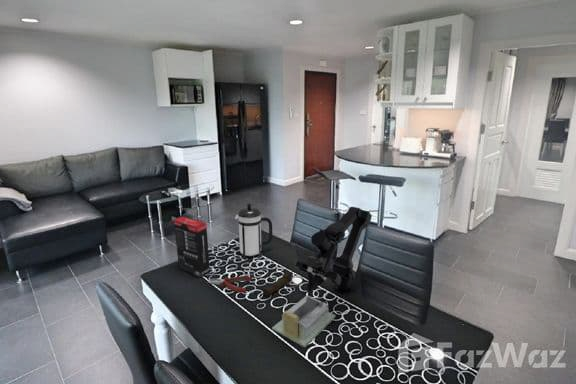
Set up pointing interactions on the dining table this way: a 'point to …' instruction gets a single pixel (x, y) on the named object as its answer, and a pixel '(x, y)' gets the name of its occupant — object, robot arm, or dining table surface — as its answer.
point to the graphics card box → (192, 246)
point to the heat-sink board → (304, 322)
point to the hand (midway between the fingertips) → (308, 292)
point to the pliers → (226, 283)
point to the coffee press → (251, 231)
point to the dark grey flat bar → (305, 308)
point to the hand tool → (277, 284)
